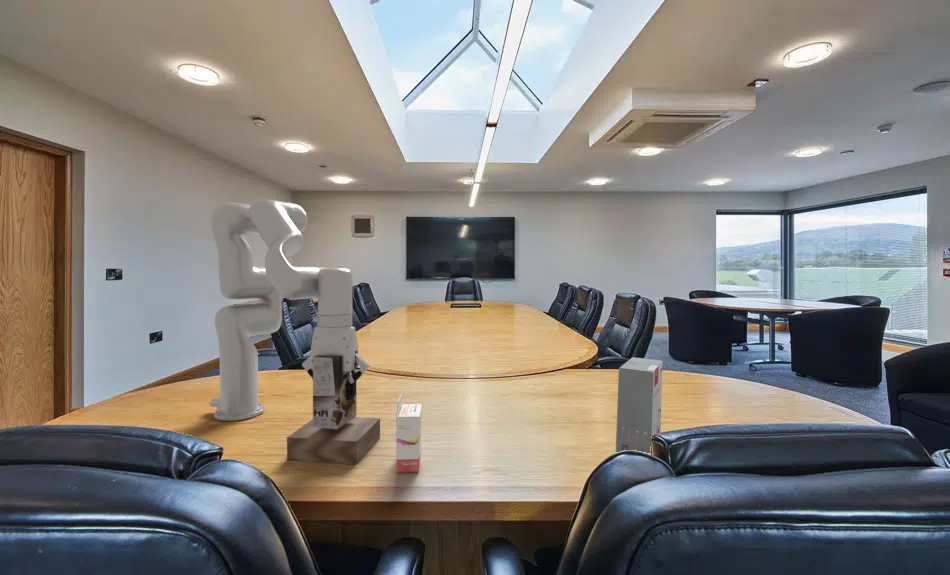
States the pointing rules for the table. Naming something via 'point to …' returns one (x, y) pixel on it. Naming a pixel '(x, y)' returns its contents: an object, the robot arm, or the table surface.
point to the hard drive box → (638, 404)
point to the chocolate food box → (331, 393)
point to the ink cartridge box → (408, 437)
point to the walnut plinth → (334, 441)
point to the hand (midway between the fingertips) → (335, 397)
